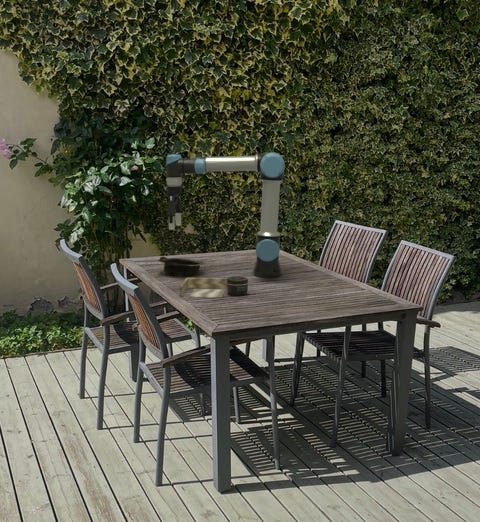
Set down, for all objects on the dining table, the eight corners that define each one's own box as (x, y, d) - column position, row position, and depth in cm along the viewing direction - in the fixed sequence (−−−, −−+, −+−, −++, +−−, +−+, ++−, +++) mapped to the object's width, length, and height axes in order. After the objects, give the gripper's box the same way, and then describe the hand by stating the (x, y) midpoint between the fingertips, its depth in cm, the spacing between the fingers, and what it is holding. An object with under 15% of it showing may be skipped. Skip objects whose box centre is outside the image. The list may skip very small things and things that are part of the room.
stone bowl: (151, 276, 387) (151, 259, 386) (171, 270, 411) (171, 254, 410) (194, 279, 379) (194, 261, 378) (213, 273, 402) (213, 256, 401)
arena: (233, 288, 362) (233, 278, 361) (229, 298, 343) (229, 287, 342) (186, 287, 364) (186, 277, 363) (179, 297, 345) (179, 286, 344)
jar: (223, 292, 354) (223, 277, 352) (242, 290, 358) (242, 275, 356) (232, 297, 345) (232, 281, 343) (251, 295, 349) (251, 279, 348)
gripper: (173, 183, 385) (174, 223, 390) (160, 187, 361) (161, 231, 365) (187, 183, 384) (188, 224, 388) (175, 188, 360) (176, 231, 364)
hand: (175, 227), depth 377 cm, fingers open, 13 cm apart
